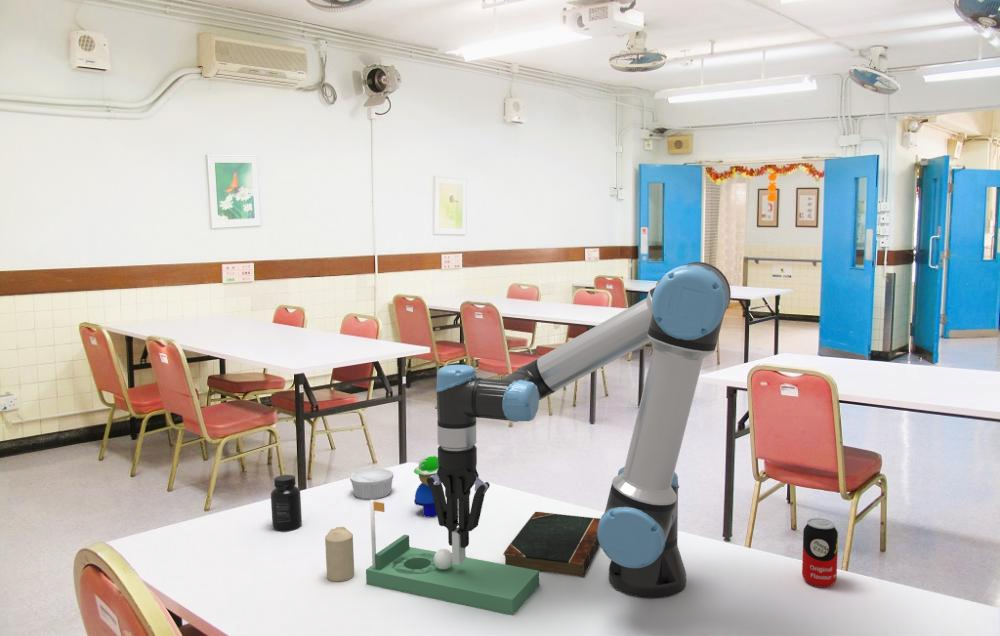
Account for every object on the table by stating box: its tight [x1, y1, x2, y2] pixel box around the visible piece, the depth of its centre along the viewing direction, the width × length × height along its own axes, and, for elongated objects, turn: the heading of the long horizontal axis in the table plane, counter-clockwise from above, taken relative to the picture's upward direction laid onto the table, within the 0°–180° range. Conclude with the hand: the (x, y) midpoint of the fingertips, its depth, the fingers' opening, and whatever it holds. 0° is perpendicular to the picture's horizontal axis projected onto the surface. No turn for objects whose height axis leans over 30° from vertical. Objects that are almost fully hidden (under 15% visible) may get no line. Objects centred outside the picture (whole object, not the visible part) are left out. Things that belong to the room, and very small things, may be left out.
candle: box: [324, 526, 355, 583], centre depth 163 cm, size 6×6×10 cm
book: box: [502, 511, 601, 578], centre depth 175 cm, size 17×4×25 cm
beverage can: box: [801, 517, 839, 588], centre depth 157 cm, size 6×6×12 cm
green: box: [365, 499, 540, 616], centre depth 158 cm, size 32×13×17 cm, turn 65°
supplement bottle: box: [270, 474, 303, 532], centre depth 190 cm, size 7×7×12 cm
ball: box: [434, 548, 452, 570], centre depth 159 cm, size 4×4×4 cm
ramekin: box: [349, 467, 394, 500], centre depth 212 cm, size 11×11×5 cm
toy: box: [413, 453, 442, 518], centre depth 197 cm, size 9×9×15 cm
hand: (459, 561), depth 158 cm, fingers closed
